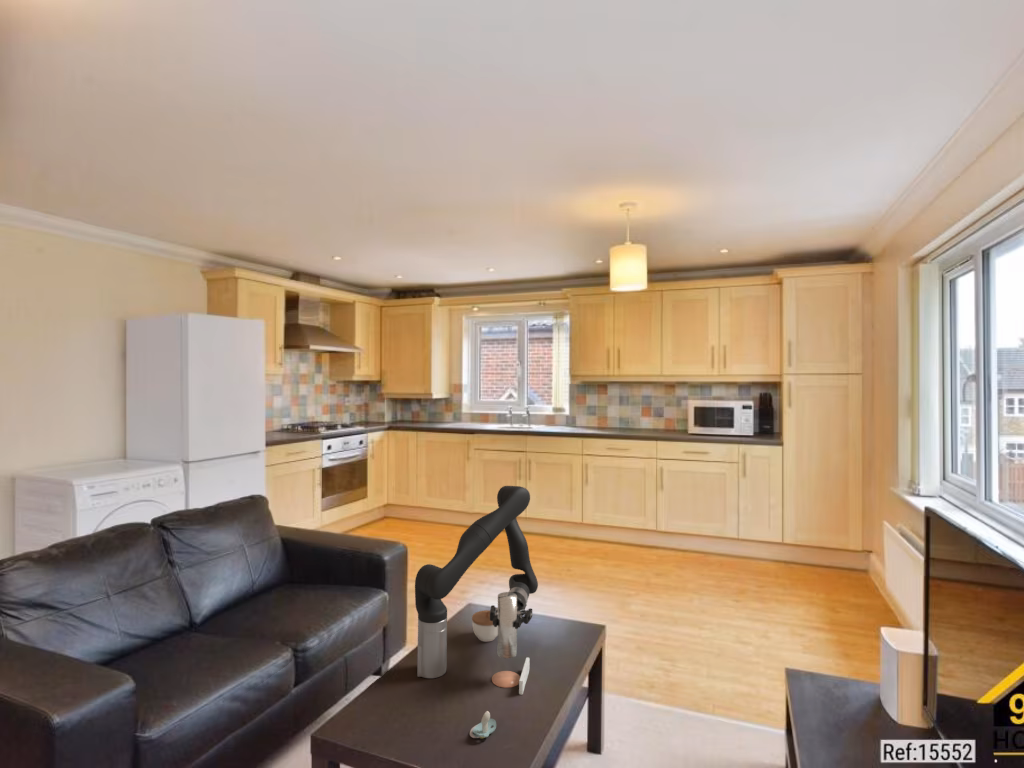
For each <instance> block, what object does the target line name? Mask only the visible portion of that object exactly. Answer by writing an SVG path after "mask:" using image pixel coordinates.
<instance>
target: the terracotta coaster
mask: <svg viewBox="0 0 1024 768" xmlns="http://www.w3.org/2000/svg"><path fill="white" fill-rule="evenodd" d="M520 677H521V675H520V674H519V673H517V672H514V671H510V670H501V671H498V672H496V673H494V674H493V675H492V677H491V682H492V684H493V685H495V686H496V687H499V688H505V689H509V688H514V687H516V686H519V680H520Z"/></svg>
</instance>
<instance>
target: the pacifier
mask: <svg viewBox="0 0 1024 768" xmlns="http://www.w3.org/2000/svg"><path fill="white" fill-rule="evenodd" d="M480 721H481V722H479V723H478V724H476V725H474V726H473V727H471V729H470V731H469V736H470V737H471V738H473V739H484V738H488V737H489V736H490V734H493V733H494V732H495V730H496V728H497V722H496V720H495V719H494V718H491V713H490V712H489V711H488V710H486V711H485V712H484V714H483V716H482V717H481V720H480Z"/></svg>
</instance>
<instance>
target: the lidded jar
mask: <svg viewBox="0 0 1024 768" xmlns="http://www.w3.org/2000/svg"><path fill="white" fill-rule="evenodd" d="M471 621H472V630H473V633H474V635H475V637H476V638H478V640H479V641H481V642H485V643H488V642H489V643H490V642H492V641H494V640H495V639H496V638H498V625H497V627H494V625H493V621H490V610H489V609H488V610H487V609H486V610H480V611H477V612H474V613H473V615H472V616H471Z"/></svg>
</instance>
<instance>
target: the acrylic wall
mask: <svg viewBox="0 0 1024 768" xmlns="http://www.w3.org/2000/svg"><path fill="white" fill-rule="evenodd" d="M530 662H531V661H530V657H527V656H526V658H525V661H524V664H523V667H522V670H521V674H520V680H519V684H518V688H519V689H518V695H521V696H522V695H524V691H525V687H526V683H527V680H528V677H529V673H530V666H531V665H530Z"/></svg>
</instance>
